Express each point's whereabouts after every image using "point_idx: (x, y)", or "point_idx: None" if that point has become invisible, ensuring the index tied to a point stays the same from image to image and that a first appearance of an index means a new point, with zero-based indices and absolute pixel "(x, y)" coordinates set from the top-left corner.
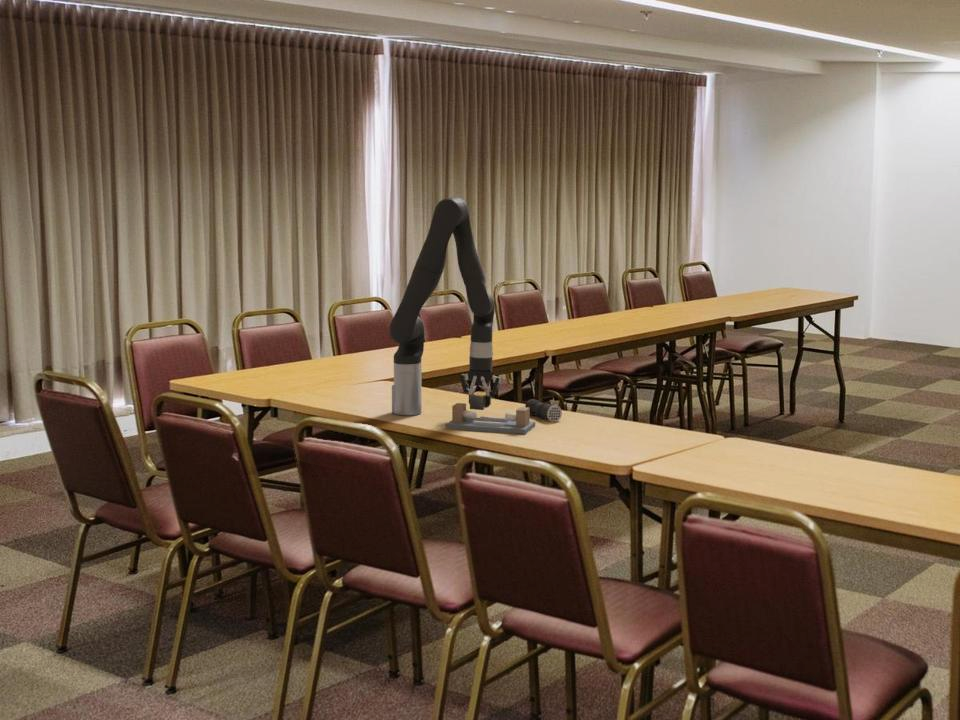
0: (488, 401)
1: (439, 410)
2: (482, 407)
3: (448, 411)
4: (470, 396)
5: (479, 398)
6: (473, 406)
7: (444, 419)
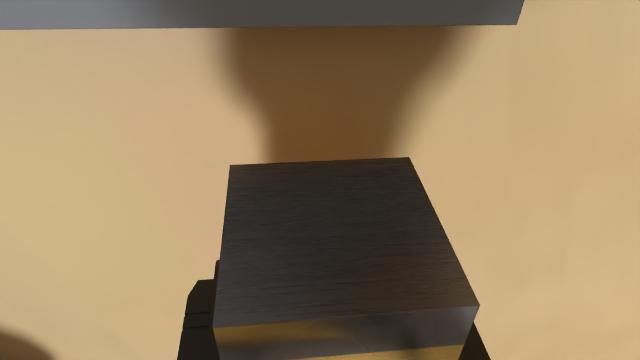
0: (199, 327)
1: (614, 291)
2: (234, 186)
3: (560, 288)
4: (463, 290)
5: (288, 283)
6: (366, 181)
7: (623, 48)
